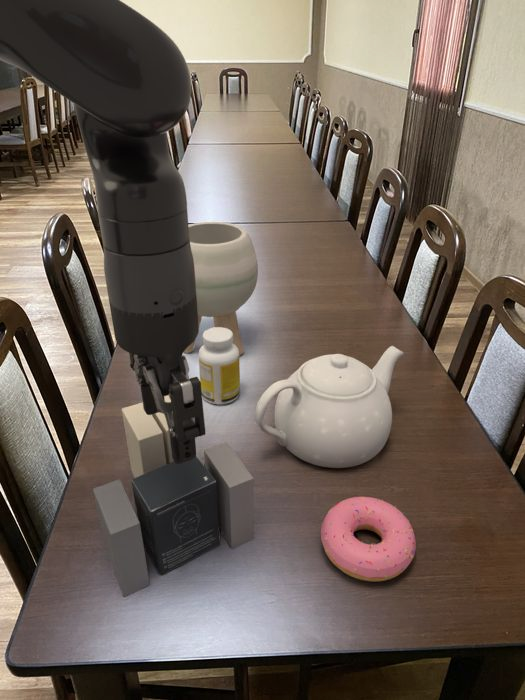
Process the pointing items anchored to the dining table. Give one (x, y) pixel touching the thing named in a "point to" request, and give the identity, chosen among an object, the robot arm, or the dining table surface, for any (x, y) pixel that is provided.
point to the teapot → (333, 409)
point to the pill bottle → (219, 366)
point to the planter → (222, 273)
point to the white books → (146, 439)
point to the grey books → (125, 526)
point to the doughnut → (364, 557)
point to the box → (177, 513)
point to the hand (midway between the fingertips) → (169, 434)
